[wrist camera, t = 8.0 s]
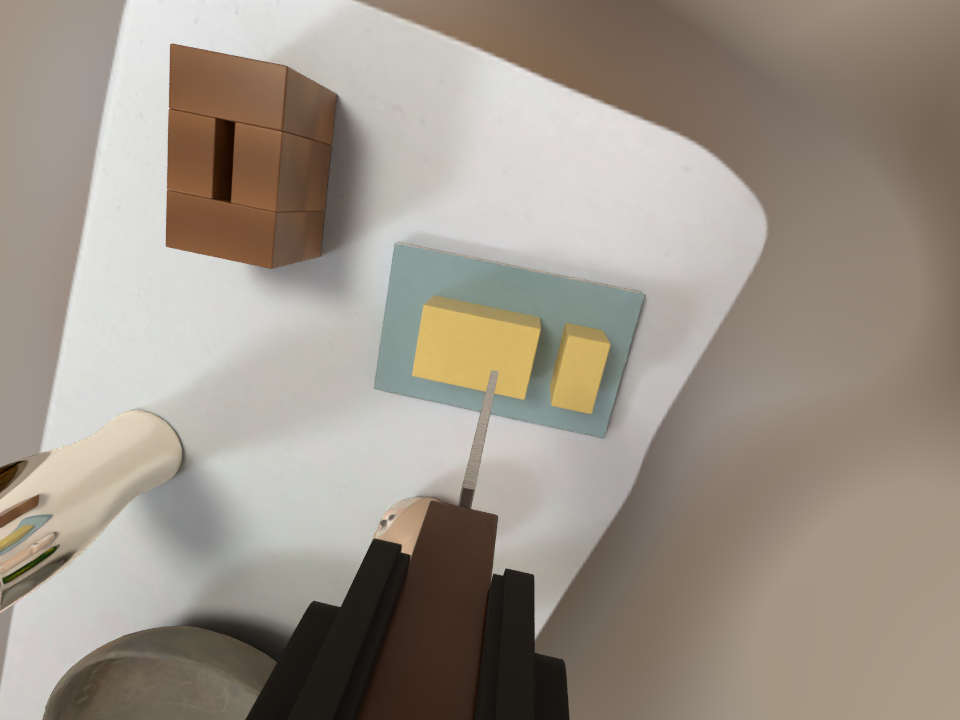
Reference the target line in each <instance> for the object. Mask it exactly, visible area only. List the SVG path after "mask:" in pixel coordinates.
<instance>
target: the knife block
mask: <svg viewBox="0 0 960 720" xmlns="http://www.w3.org/2000/svg"><path fill="white" fill-rule="evenodd" d="M336 98H337V94H336V93H334V92H332V91H331V90H329V89H327V88H325V87H324V86H322V85H320V84H318V83H316V82H315V81H313V80H311V79H309V78H307V77H306V76H304V75H302V74H300V73H299V72H297V71H295V70H293V69H291V68H290V67H288V66H285V65H280V64H275V63H270V62H264V61H259V60H254V59H249V58H244V57H239V56H234V55H228V54H223V53H218V52H213V51H208V50H203V49H198V48H192V47H187V46H182V45H177V44H171V45H170V82H169V108H170V109H169V119H168V169H167V213H166V247H170V248H174V249H179V250H184V251H189V252H193V253H198V254H203V255H208V256H213V257H217V258H222V259H227V260H232V261H237V262H241V263H246V264H251V265H256V266H260V267H265V268H270V269H272V268H277V267H281V266H285V265H289V264H293V263H297V262H301V261H305V260H309V259H313V258H317V257H320V255H321V245H322V236H323V226H324V216H325V211H324V210H325V206H326V196H327V186H328V177H329V167H330V157H331V148H332V146H331V144H332V137H333V127H334V117H335V108H336Z"/></svg>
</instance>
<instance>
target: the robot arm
mask: <svg viewBox="0 0 960 720" xmlns="http://www.w3.org/2000/svg"><path fill="white" fill-rule="evenodd" d="M401 550H402V544H398V543H394V542H389V541H385V540H381V539H376V538H374V539H373V541H372V543H371V545H370V547H369V549H368V551H367V553H366V555H365V557H364V559H363V562H362V564H361V566H360V568H359V570H358V572H357V574H356V576H355V578H354V580H353V583H352V585H351V587H350V589H349V591H348V593H347V595H346V597H345V599H344V601H343V604H342V606H341V607H337V606H333V605H329V604H325V603H320V602H316V601H313V602H312V603H311V604H310V605H309V607H308V608H307V610H306V612H305V613H304V615H303V617H302V619H301V620H300V622H299V624H298V626H297V628H296V629H295V631H294V633H293V635H292V637H291V638H290V640H289V642H288V644H287V646H286V647H285V649H284V651H283V653H282V655H281V656H280V658H279V660H278V662H277V664H276V665H275V667H274V669H273V671H272V672H271V674H270V676H269V678H268V680H267V681H266V683H265V685H264V687H263V689H262V690H261V692H260V694H259V696H258V698H257V699H256V701H255V703H254V705H253V707H252V708H251V710H250V712H249V714H248V716H247V717H246V719H245V720H357V719H358V716H359V713H360V711H361V708H362V705H363V702H364V699H365V696H366V693H367V690H368V687H369V684H370V681H371V678H372V675H373V672H374V669H375V666H376V663H377V661H378V658H379V655H380V652H381V649H382V646H383V643H384V640H385V637H386V634H387V631H388V628H389V625H390V622H391V619H392V616H393V613H394V611H395V608H396V605H397V602H398V599H399V596H400V593H401V590H402V587H403V584H404V581H405V578H406V575H407V572H408V568H409V563H410V556H411V555H410V554H406V553H401ZM534 649H535V622H534V575H533V574H528V573H524V572H520V571H515V570H511V569H507V568H506V569H505V572H504V575H503V576H501V575H497V574H493V577H492V581H491V585H490V589H489V596H488V605H487V613H486V622H485V631H484V640H483V648H482V657H481V666H480V675H479V683H478V692H477V701H476V710H475V718H474V720H569V707H568V693H567V678H566V668H565V663H564V661H563V660H562V659H558V658H554V657H550V656H545V655H541V654H537V653H535V650H534Z"/></svg>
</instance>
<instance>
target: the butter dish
mask: <svg viewBox="0 0 960 720" xmlns="http://www.w3.org/2000/svg"><path fill="white" fill-rule="evenodd" d="M434 295H436V296H441V297H445V298H450V299H455V300H460V301H465V302H469V303H474V304H479V305H484V306H489V307H493V308H498V309H503V310H508V311H513V312H517V313H522V314H527V315H532V316H537V317H540V323H541V332H540V336H539V341H538V345H537V349H536V354H535V358H534V362H533V367H532V371H531V375H530V380H529V384H528V388H527V393H526V397H525V400H522V399H517V398H512V397H508V396H503V395H498V394H494V398H493V403H492V408H491V412H490V414H493V415H498V416H503V417H507V418H512V419H517V420H521V421H526V422H531V423H535V424H540V425H545V426H549V427H554V428H558V429H563V430H568V431H572V432H577V433H582V434H586V435H591V436H596V437H600V438H604V437H605V433H606V430H607V426H608V422H609V419H610V415H611V412H612V408H613V405H614V401H615V398H616V394H617V391H618V387H619V384H620V380H621V377H622V373H623V370H624V366H625V363H626V359H627V356H628V352H629V349H630V345H631V342H632V338H633V335H634V331H635V328H636V324H637V320H638V317H639V313H640V310H641V306H642V303H643V299H644V296H645V294H644V293H643V292H641V291H636V290H631V289H626V288H621V287H616V286H611V285H607V284H602V283H597V282H592V281H587V280H582V279H577V278H572V277H568V276H563V275H558V274H553V273H548V272H543V271H538V270H533V269H529V268H524V267H519V266H514V265H509V264H504V263H499V262H494V261H490V260H485V259H480V258H475V257H470V256H465V255H460V254H455V253H451V252H446V251H441V250H436V249H431V248H426V247H421V246H416V245H412V244H407V243H402V242H397V243H395V244H394V251H393V259H392V266H391V273H390V280H389V287H388V294H387V301H386V308H385V315H384V322H383V329H382V336H381V343H380V350H379V357H378V364H377V371H376V378H375V385H374V389H377V390H382V391H387V392H391V393H396V394H401V395H405V396H410V397H415V398H419V399H424V400H429V401H433V402H438V403H442V404H447V405H452V406H456V407H461V408H466V409H470V410H475V411H480V412H481V409H482V405H483V401H484V397H485V393H486V392H484V391H480V390H475V389H470V388H466V387H461V386H456V385H452V384H447V383H442V382H438V381H433V380H428V379H424V378H419V377H414V376H412V372H413V365H414V359H415V353H416V347H417V341H418V335H419V329H420V323H421V316H422V310H423V305H424V304H425V303H426V302H427V301H428V300H430V299H431V298H432V297H433V296H434ZM565 323H570V324H575V325H580V326H585V327H589V328H594V329H599V330H603V331H604V333H605V335H606V337H607V338H608V340H609V342H610V344H611V346H610V349H609V353H608V357H607V360H606V364H605V368H604V371H603V375H602V379H601V382H600V386H599V390H598V393H597V397H596V401H595V404H594V408H593V412H592V414H587V413H583V412H578V411H573V410H569V409H564V408H559V407H555V406H552V405H551V397H550V383H551V378H552V374H553V370H554V366H555V362H556V358H557V354H558V350H559V346H560V342H561V337H562V333H563V329H564V325H565Z"/></svg>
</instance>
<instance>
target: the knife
mask: <svg viewBox="0 0 960 720" xmlns="http://www.w3.org/2000/svg"><path fill="white" fill-rule="evenodd" d="M498 373H499V372H498V371H494V370H491V373H490V377H489V381H488V385H487V389H486V393H485V397H484V401H483V405H482V409H481V413H480V417H479V421H478V425H477V429H476V433H475V437H474V441H473V445H472V449H471V453H470V457H469V461H468V465H467V469H466V473H465V477H464V481H463V485H462V489H461V494H460V499H459V503H458V506H455V505H451V504H446V503H442V502H438V501H433V500H431V501H430V502H429V505H428V508H427V511H426V514H425V517H424V520H423V523H422V526H421V528H420V531H419V534H418V537H417V540H416V543H415V546H414V549H413V552H412V555H411V557H410V563H409V568H408V572H407V575H406V578H405V581H404V584H403V587H402V590H401V593H400V596H399V599H398V602H397V605H396V608H395V611H394V613H393V616H392V619H391V622H390V625H389V628H388V631H387V634H386V637H385V640H384V643H383V646H382V649H381V652H380V655H379V658H378V661H377V663H376V666H375V669H374V672H373V675H372V678H371V681H370V684H369V687H368V690H367V693H366V696H365V699H364V702H363V705H362V708H361V711H360V713H359V716H358V719H357V720H474V718H475V710H476V701H477V692H478V683H479V675H480V666H481V657H482V648H483V640H484V631H485V622H486V613H487V605H488V596H489V589H490V585H491V577H492V568H493V559H494V550H495V541H496V532H497V523H498V516H497V515H495V514H491V513H486V512H482V511H477V510H473V509H471V505H472V501H473V496H474V492H475V487H476V482H477V477H478V472H479V467H480V462H481V457H482V452H483V447H484V442H485V437H486V432H487V427H488V422H489V417H490V412H491V408H492V403H493V398H494V393H495V388H496V383H497V378H498Z"/></svg>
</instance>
